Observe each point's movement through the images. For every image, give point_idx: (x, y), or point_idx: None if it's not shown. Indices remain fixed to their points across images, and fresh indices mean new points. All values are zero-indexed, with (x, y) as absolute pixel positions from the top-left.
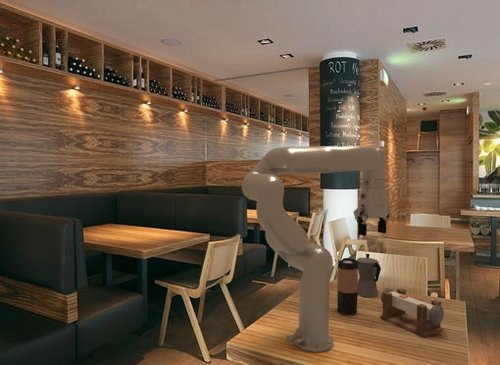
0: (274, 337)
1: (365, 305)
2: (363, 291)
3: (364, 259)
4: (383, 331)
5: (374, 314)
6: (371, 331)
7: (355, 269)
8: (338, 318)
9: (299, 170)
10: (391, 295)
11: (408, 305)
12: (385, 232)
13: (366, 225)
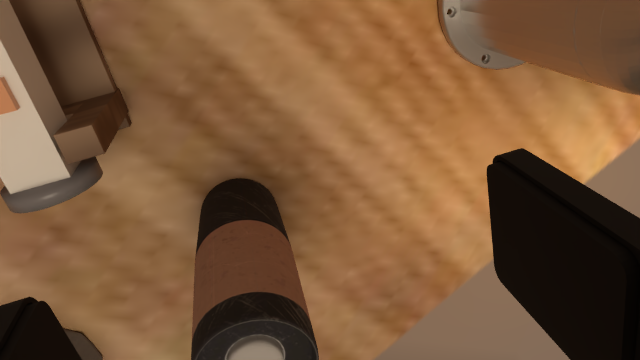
0: None
1: (126, 256)
2: (80, 355)
3: None
4: (191, 3)
5: (135, 166)
6: (243, 18)
7: (232, 296)
8: (306, 162)
9: None
10: (60, 131)
11: (5, 28)
12: (13, 305)
13: (627, 240)
